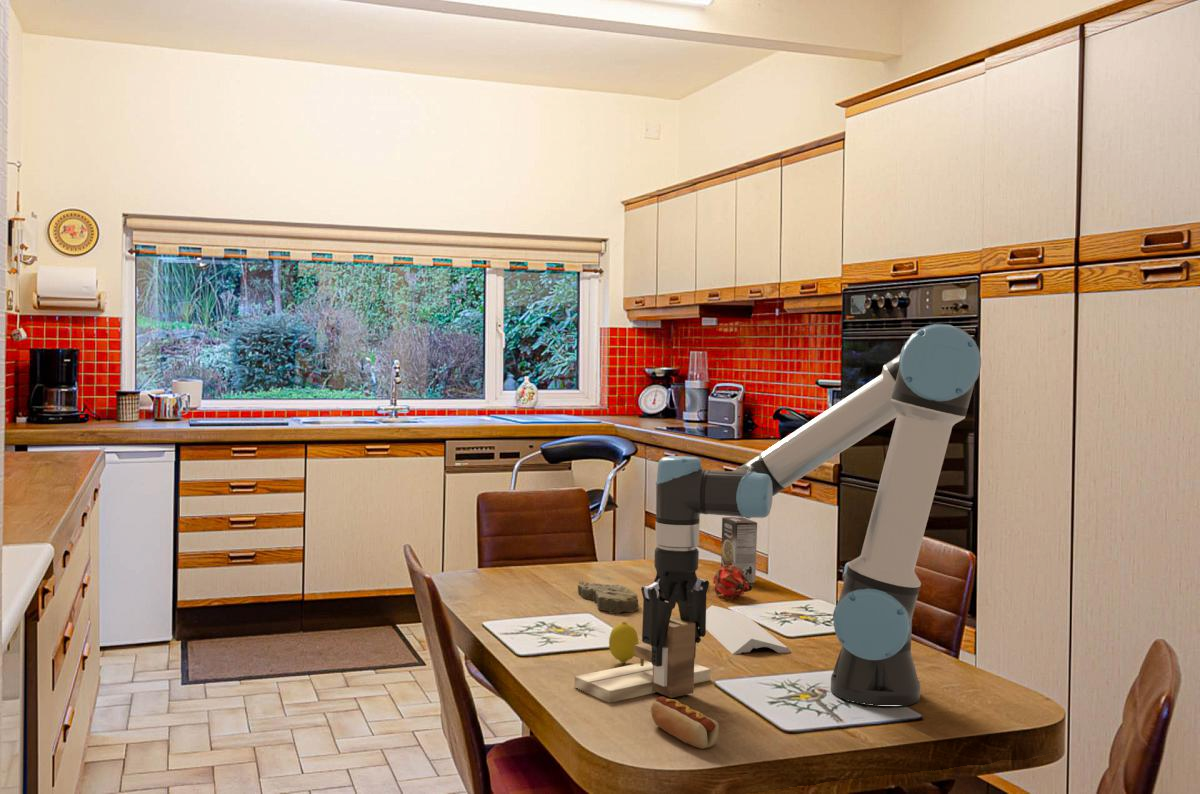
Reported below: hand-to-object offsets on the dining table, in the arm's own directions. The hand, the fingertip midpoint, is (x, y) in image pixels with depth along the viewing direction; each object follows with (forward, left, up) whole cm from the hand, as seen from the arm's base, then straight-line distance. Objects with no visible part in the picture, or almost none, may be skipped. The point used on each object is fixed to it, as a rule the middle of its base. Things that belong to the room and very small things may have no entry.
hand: (673, 681), depth 182 cm
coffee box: (+64, -79, -3) cm, 102 cm away
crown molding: (+23, -39, -3) cm, 45 cm away
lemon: (+20, -5, -3) cm, 20 cm away
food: (-16, +12, -3) cm, 21 cm away
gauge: (+3, 0, -2) cm, 4 cm away
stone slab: (+63, -35, -3) cm, 72 cm away
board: (+8, 0, -2) cm, 8 cm away
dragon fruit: (+50, -63, -3) cm, 80 cm away
